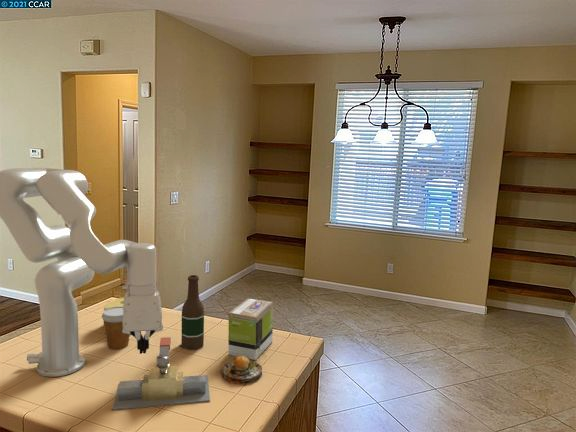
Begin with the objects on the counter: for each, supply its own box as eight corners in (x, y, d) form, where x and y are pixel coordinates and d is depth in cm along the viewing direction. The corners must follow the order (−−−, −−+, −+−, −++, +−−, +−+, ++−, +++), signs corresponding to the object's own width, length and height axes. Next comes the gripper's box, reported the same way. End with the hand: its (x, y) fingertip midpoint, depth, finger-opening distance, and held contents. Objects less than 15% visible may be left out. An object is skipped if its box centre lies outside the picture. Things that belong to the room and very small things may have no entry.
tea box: (246, 337, 153) (247, 297, 151) (273, 342, 150) (274, 301, 148) (227, 355, 139) (228, 311, 137) (255, 361, 136) (257, 316, 134)
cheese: (106, 324, 159) (105, 298, 157) (137, 322, 162) (137, 296, 160) (103, 336, 149) (102, 308, 147) (136, 333, 152) (136, 306, 151)
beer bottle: (198, 351, 140) (199, 280, 137) (176, 348, 142) (176, 278, 138) (208, 341, 148) (209, 274, 144) (186, 338, 149) (187, 271, 146)
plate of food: (268, 369, 131) (269, 346, 130) (251, 388, 120) (252, 363, 119) (233, 361, 135) (233, 339, 134) (214, 379, 125) (214, 355, 123)
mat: (112, 410, 108) (112, 408, 107) (120, 382, 120) (120, 381, 120) (209, 401, 113) (209, 400, 113) (207, 376, 126) (207, 374, 125)
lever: (169, 368, 113) (169, 359, 112) (156, 368, 112) (156, 360, 112) (171, 343, 127) (171, 335, 126) (160, 344, 126) (160, 336, 126)
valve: (117, 405, 110) (117, 374, 108) (121, 392, 115) (120, 363, 114) (205, 397, 115) (206, 368, 113) (204, 385, 120) (205, 357, 119)
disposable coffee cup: (123, 336, 149) (123, 303, 147) (139, 345, 143) (138, 311, 141) (96, 345, 142) (96, 310, 140) (111, 355, 136) (111, 318, 134)
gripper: (111, 294, 113) (112, 359, 116) (170, 291, 116) (170, 355, 119) (115, 285, 120) (117, 347, 123) (171, 283, 124) (171, 343, 126)
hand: (143, 351), depth 121 cm, fingers closed
